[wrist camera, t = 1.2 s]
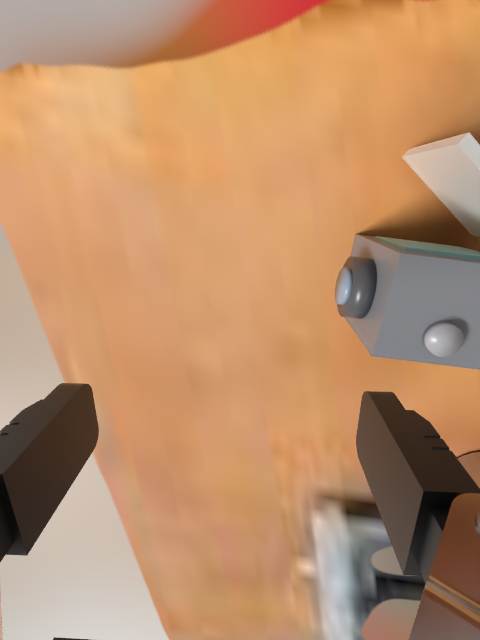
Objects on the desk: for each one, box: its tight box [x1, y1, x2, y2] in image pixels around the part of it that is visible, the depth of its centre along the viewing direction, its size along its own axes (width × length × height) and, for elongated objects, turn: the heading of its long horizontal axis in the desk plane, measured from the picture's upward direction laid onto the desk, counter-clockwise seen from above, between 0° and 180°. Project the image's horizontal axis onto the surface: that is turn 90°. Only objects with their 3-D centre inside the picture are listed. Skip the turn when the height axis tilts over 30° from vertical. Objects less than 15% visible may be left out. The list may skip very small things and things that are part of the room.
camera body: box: [335, 234, 480, 370], centre depth 26 cm, size 13×8×11 cm
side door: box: [402, 132, 480, 237], centre depth 24 cm, size 9×2×8 cm, turn 48°
